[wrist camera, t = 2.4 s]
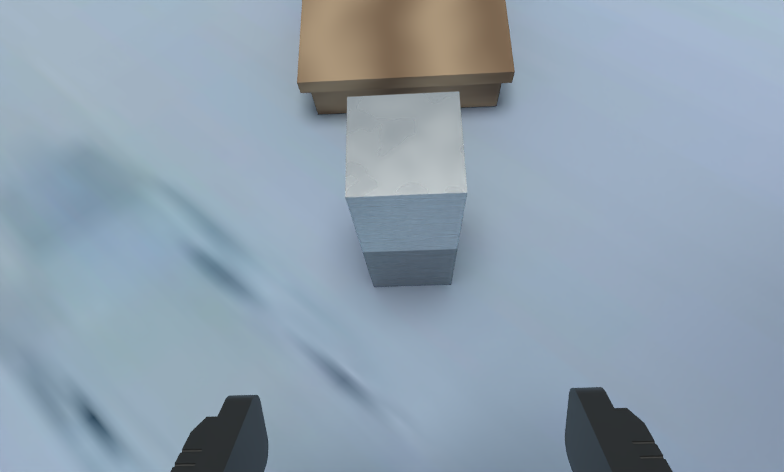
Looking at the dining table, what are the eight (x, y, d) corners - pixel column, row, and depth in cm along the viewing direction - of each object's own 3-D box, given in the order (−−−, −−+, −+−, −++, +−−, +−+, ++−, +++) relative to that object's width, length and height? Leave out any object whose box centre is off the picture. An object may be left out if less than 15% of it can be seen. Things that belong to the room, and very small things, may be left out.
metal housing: (446, 214, 32) (459, 91, 21) (450, 284, 30) (467, 192, 19) (373, 216, 32) (347, 96, 21) (373, 286, 30) (345, 197, 19)
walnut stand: (487, -33, 39) (494, -82, 35) (504, 111, 34) (514, 71, 30) (317, -23, 40) (306, -70, 36) (310, 120, 35) (297, 82, 31)
